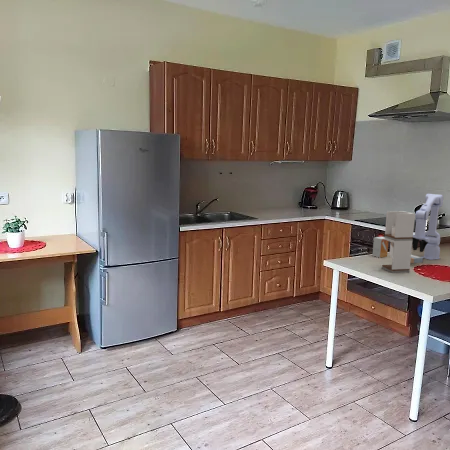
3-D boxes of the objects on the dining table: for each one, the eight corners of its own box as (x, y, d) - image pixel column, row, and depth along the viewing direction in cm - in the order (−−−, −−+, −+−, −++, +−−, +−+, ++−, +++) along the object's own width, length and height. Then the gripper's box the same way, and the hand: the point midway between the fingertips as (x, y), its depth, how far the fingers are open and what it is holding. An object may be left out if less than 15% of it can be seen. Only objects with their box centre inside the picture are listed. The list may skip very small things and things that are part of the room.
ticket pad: (407, 257, 294) (407, 253, 293) (422, 262, 282) (422, 257, 281) (399, 258, 291) (399, 253, 291) (414, 263, 279) (414, 258, 279)
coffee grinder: (398, 267, 267) (403, 211, 261) (409, 272, 257) (415, 213, 251) (381, 268, 264) (386, 211, 259) (392, 272, 254) (397, 213, 248)
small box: (379, 258, 291) (381, 239, 289) (372, 256, 296) (373, 237, 294) (387, 256, 295) (389, 238, 293) (379, 254, 300) (381, 236, 298)
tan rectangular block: (405, 260, 285) (406, 255, 285) (413, 263, 279) (414, 258, 279) (400, 260, 284) (401, 256, 284) (408, 263, 278) (409, 258, 277)
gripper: (406, 227, 274) (404, 248, 277) (424, 231, 261) (422, 253, 263) (415, 227, 277) (413, 248, 279) (433, 231, 264) (431, 253, 266)
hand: (418, 250), depth 271 cm, fingers open, 5 cm apart
